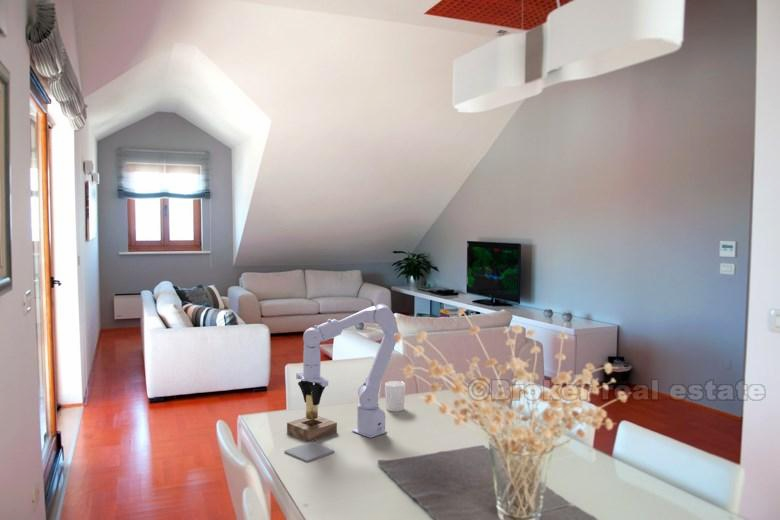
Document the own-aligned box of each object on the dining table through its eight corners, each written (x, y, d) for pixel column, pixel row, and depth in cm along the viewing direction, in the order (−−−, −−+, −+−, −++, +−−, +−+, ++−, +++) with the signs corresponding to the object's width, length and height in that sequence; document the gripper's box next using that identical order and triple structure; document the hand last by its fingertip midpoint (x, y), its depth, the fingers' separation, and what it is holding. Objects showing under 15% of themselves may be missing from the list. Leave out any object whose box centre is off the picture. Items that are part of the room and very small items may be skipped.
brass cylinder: (320, 417, 206) (320, 394, 205) (311, 420, 203) (311, 396, 202) (312, 414, 208) (312, 392, 208) (303, 417, 205) (303, 394, 205)
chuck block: (336, 432, 207) (336, 422, 207) (309, 441, 198) (309, 431, 198) (314, 424, 215) (314, 414, 215) (287, 432, 206) (287, 422, 206)
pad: (334, 452, 189) (334, 450, 189) (307, 462, 181) (307, 460, 181) (311, 443, 197) (311, 441, 197) (284, 452, 189) (284, 450, 188)
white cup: (408, 408, 234) (409, 382, 234) (398, 413, 228) (398, 387, 227) (391, 404, 239) (391, 379, 238) (380, 410, 232) (381, 384, 231)
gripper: (289, 362, 206) (289, 401, 207) (316, 369, 197) (316, 410, 197) (305, 358, 212) (305, 397, 212) (332, 365, 202) (332, 405, 203)
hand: (311, 403), depth 205 cm, fingers closed on brass cylinder, 4 cm apart
